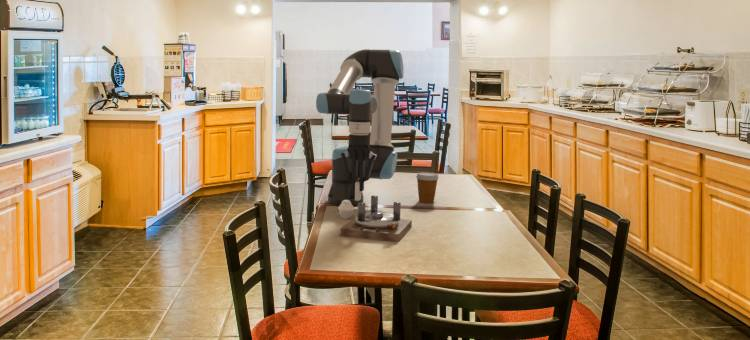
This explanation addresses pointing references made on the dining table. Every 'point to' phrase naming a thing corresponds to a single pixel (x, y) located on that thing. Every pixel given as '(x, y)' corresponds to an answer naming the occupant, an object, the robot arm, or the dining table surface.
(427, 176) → the disposable coffee cup
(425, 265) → the dining table surface
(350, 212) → the muffin
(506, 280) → the dining table surface
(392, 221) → the capstan
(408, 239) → the dining table surface
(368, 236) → the stand
